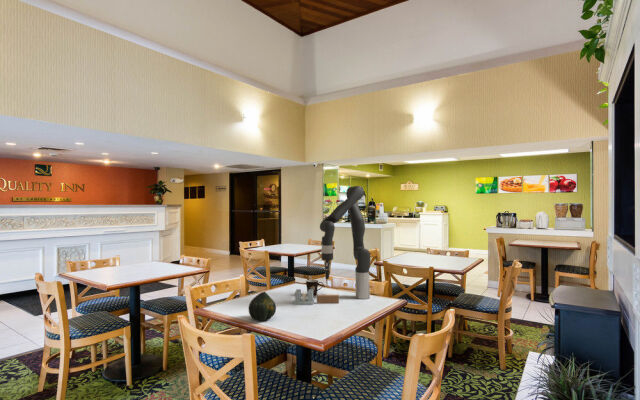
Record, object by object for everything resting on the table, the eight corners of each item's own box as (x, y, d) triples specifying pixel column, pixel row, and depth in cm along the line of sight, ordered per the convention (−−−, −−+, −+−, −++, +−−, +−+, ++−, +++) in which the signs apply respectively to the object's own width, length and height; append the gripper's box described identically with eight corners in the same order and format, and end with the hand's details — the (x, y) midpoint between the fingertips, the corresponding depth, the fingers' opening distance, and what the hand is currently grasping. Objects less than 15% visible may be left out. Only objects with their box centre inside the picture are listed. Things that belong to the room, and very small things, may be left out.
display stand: (314, 300, 233) (314, 288, 233) (313, 304, 223) (313, 292, 223) (295, 300, 233) (295, 288, 234) (294, 304, 223) (294, 292, 224)
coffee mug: (304, 296, 245) (304, 281, 246) (308, 293, 254) (308, 279, 254) (320, 297, 242) (320, 282, 242) (324, 294, 250) (323, 280, 251)
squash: (251, 315, 184) (268, 290, 190) (239, 309, 196) (255, 286, 202) (270, 329, 189) (285, 305, 196) (257, 323, 201) (272, 300, 208)
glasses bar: (338, 302, 229) (338, 294, 229) (338, 303, 226) (338, 295, 226) (316, 302, 229) (316, 294, 229) (316, 304, 226) (316, 296, 226)
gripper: (332, 253, 221) (333, 279, 221) (333, 250, 235) (333, 275, 235) (320, 253, 221) (321, 279, 221) (322, 250, 236) (322, 275, 235)
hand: (327, 277), depth 228 cm, fingers open, 8 cm apart
